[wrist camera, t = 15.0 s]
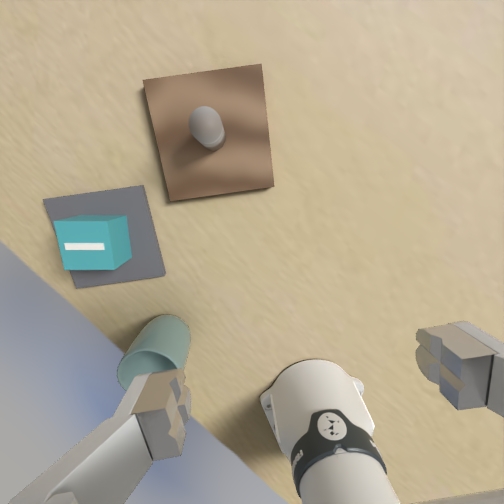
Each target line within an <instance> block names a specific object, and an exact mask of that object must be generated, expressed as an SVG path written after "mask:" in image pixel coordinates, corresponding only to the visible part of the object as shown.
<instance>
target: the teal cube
mask: <svg viewBox="0 0 504 504" xmlns="http://www.w3.org/2000/svg"><path fill="white" fill-rule="evenodd" d="M54 226H55V230H56V235H57V239H58V244H59V248H60V253H61V257H62V262H63V266H64V270H115V269H116V268H118V267H119V266H121V265H122V264H123V263H125V262H126V261H128V260H129V259H130V258H132V254H131V246H130V239H129V232H128V224H127V217H126V215H79V216H75V217H70V218H66V219H61V220H57V221H54Z"/></svg>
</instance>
